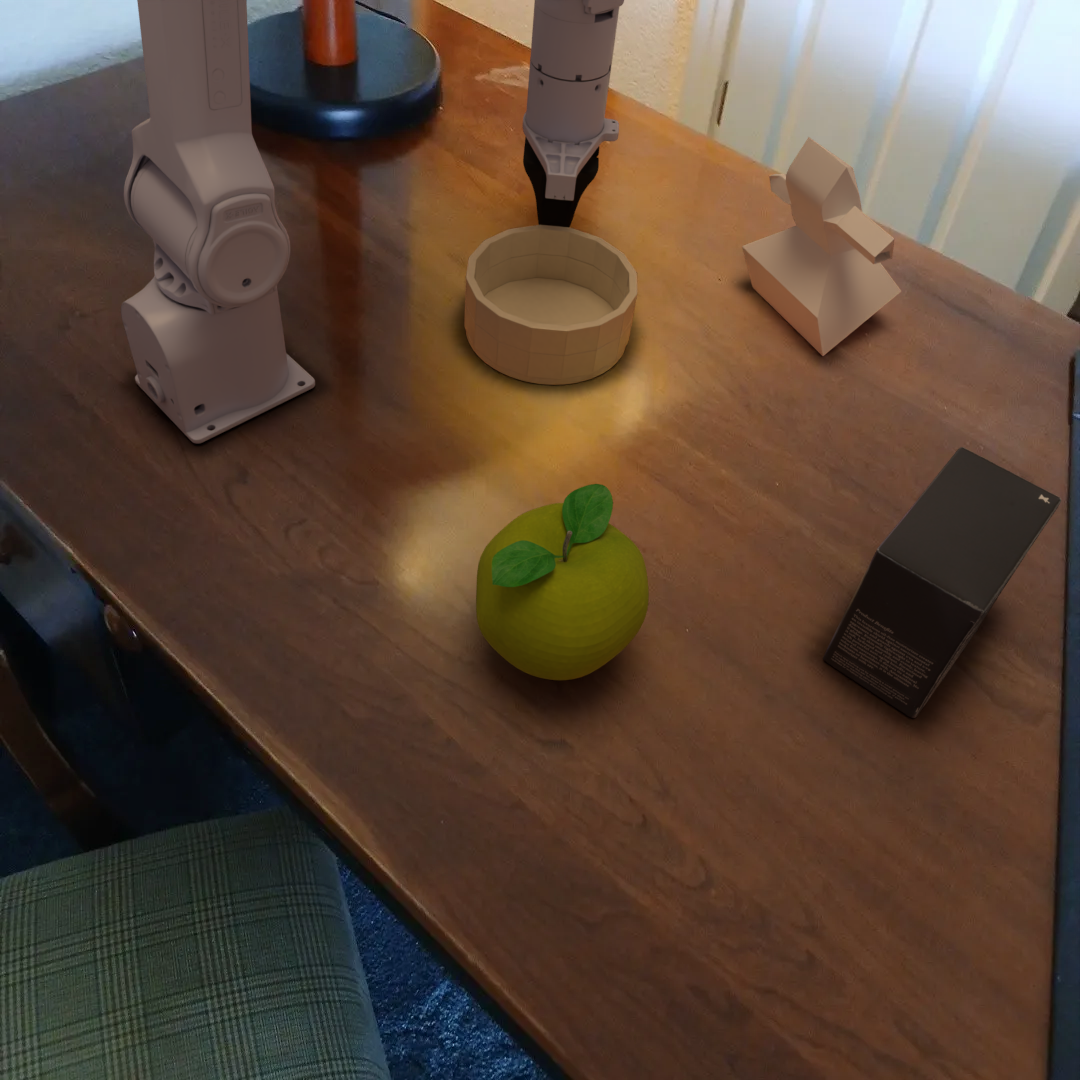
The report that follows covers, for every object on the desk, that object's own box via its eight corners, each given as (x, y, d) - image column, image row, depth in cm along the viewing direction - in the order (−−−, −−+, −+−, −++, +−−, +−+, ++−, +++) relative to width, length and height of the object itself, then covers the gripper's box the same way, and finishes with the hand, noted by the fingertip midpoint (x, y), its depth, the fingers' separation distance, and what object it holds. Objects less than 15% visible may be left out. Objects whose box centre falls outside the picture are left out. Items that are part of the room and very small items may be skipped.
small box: (896, 555, 67) (959, 438, 59) (990, 611, 65) (1070, 497, 57) (814, 657, 61) (872, 544, 53) (914, 723, 59) (991, 614, 51)
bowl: (541, 409, 73) (548, 353, 69) (431, 319, 78) (431, 263, 74) (660, 340, 79) (672, 285, 75) (550, 261, 84) (556, 206, 80)
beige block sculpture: (794, 242, 89) (843, 84, 78) (904, 341, 81) (974, 182, 71) (713, 265, 86) (752, 104, 75) (819, 370, 78) (879, 208, 68)
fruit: (438, 642, 60) (439, 529, 52) (550, 556, 65) (566, 441, 57) (554, 746, 56) (573, 641, 49) (664, 647, 61) (697, 537, 53)
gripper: (629, 120, 69) (603, 290, 79) (626, 21, 78) (603, 184, 88) (521, 109, 68) (509, 281, 79) (532, 11, 78) (520, 176, 88)
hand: (553, 230), depth 84 cm, fingers closed
